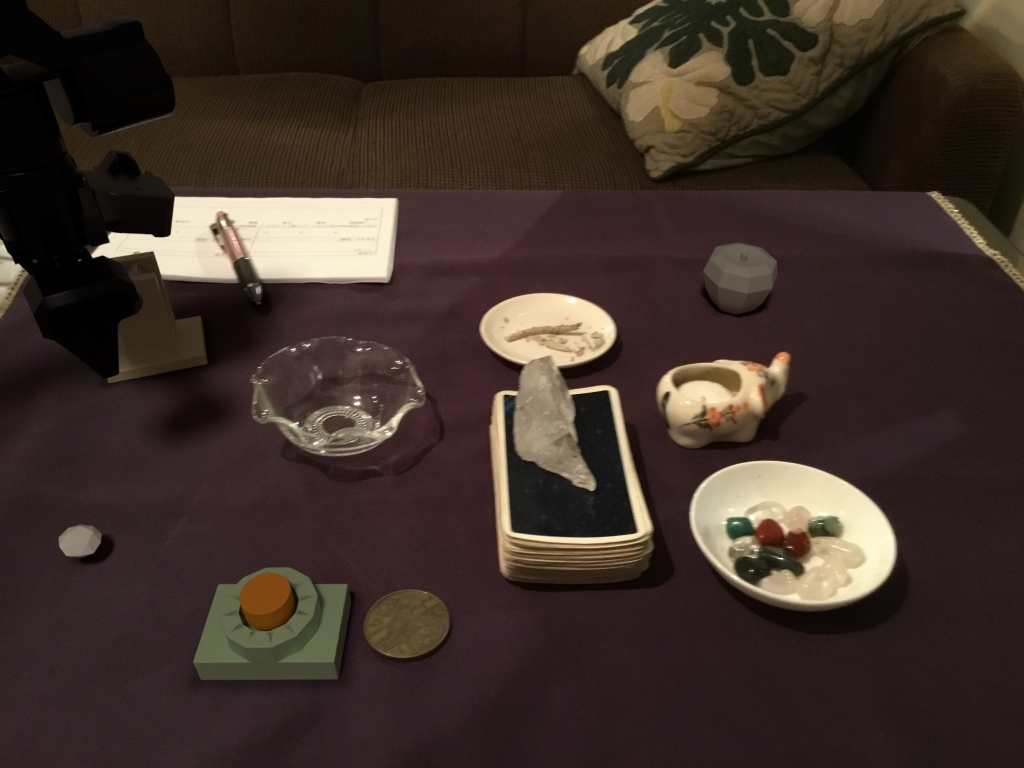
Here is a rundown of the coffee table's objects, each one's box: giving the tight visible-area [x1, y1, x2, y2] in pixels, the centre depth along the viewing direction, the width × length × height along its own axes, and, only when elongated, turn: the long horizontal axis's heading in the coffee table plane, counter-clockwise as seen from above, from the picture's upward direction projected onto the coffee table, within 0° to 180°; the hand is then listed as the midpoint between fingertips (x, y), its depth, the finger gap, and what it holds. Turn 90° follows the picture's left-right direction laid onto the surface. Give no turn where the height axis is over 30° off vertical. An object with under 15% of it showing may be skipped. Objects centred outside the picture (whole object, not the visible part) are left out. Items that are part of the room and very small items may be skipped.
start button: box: [239, 573, 295, 630], centre depth 51 cm, size 3×3×2 cm
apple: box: [702, 242, 778, 315], centre depth 84 cm, size 8×8×7 cm
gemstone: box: [58, 523, 102, 559], centre depth 58 cm, size 3×3×3 cm
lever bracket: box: [106, 250, 209, 384], centre depth 75 cm, size 9×7×10 cm
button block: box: [192, 566, 352, 681], centre depth 53 cm, size 9×6×4 cm
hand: (95, 345), depth 62 cm, fingers open, 9 cm apart
